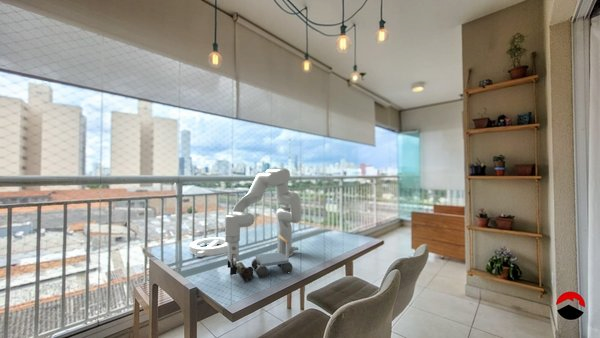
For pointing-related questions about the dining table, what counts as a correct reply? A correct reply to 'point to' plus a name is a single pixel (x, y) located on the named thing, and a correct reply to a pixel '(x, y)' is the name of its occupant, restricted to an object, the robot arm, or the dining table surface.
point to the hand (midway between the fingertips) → (232, 270)
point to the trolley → (272, 261)
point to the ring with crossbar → (209, 246)
